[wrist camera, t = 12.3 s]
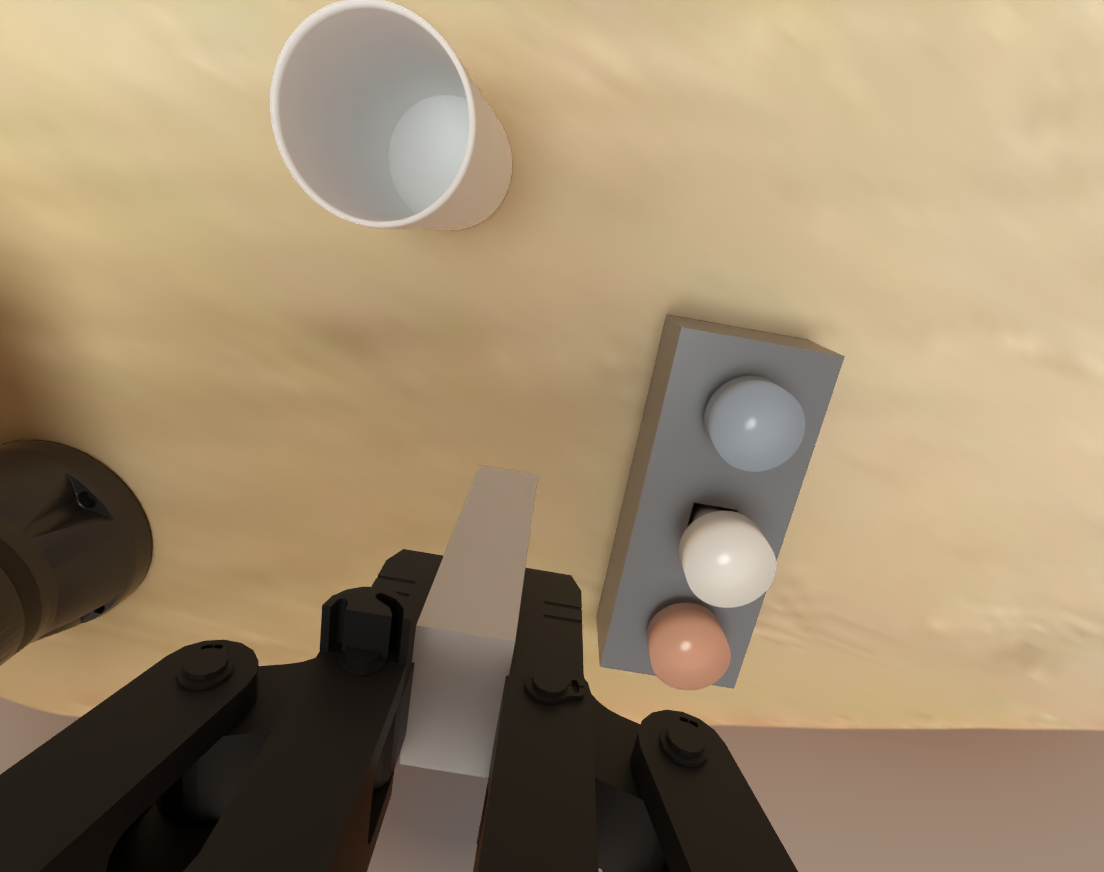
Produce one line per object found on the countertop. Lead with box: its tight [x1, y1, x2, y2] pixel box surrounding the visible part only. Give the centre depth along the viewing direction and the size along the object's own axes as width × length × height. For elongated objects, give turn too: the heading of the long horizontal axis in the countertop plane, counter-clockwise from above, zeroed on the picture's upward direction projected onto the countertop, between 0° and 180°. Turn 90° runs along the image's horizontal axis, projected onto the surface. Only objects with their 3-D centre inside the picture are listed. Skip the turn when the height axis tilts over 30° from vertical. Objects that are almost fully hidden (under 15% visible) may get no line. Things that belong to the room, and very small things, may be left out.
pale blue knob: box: [704, 375, 805, 472], centre depth 38 cm, size 5×5×7 cm
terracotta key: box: [646, 603, 731, 690], centre depth 43 cm, size 5×5×7 cm
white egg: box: [679, 503, 776, 608], centre depth 38 cm, size 5×5×7 cm
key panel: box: [597, 315, 845, 688], centre depth 43 cm, size 10×25×6 cm, turn 170°
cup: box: [270, 0, 512, 230], centre depth 31 cm, size 8×8×16 cm
